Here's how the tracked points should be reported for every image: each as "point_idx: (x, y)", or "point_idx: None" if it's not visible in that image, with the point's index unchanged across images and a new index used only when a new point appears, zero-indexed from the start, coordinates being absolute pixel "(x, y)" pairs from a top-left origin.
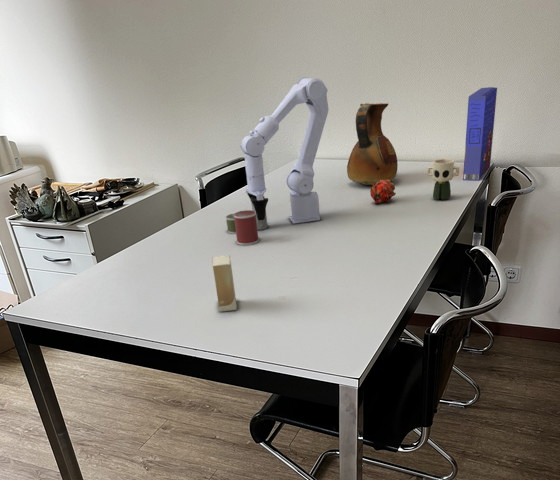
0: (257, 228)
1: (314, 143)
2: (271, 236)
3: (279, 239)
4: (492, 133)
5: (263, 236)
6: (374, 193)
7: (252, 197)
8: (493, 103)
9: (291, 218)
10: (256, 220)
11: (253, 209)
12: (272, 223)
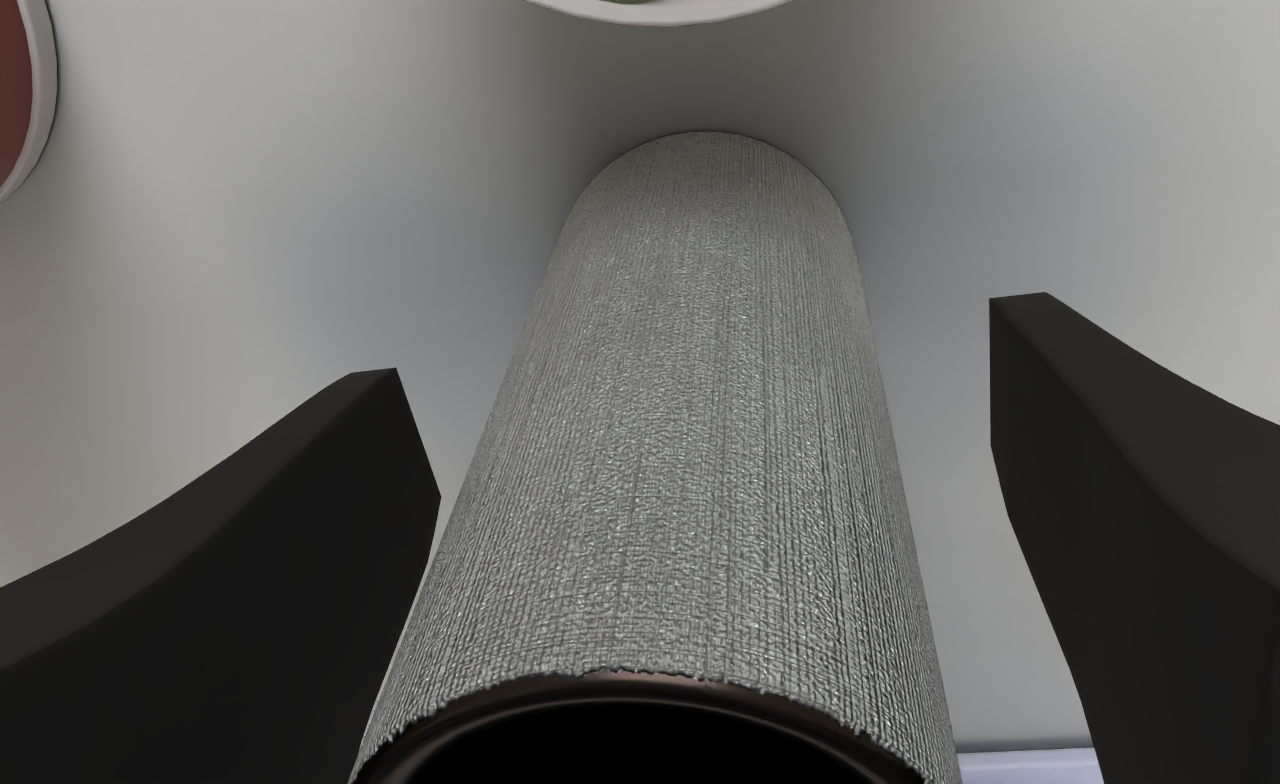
0: (569, 216)
1: None
2: (151, 440)
3: (3, 541)
4: None
5: (151, 311)
6: None
7: (793, 734)
8: None
9: (987, 779)
10: (536, 299)
11: (516, 421)
12: (945, 484)
